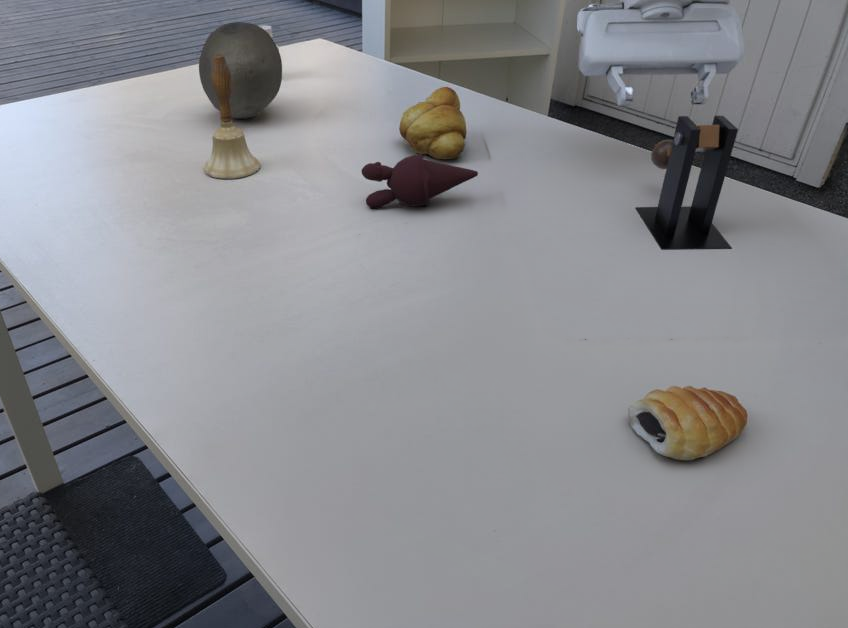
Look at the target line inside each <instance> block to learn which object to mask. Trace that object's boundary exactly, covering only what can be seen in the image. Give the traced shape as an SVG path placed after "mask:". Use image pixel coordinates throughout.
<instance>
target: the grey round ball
mask: <svg viewBox="0 0 848 628" xmlns="http://www.w3.org/2000/svg"><path fill="white" fill-rule="evenodd" d="M259 26H260V25H257V24H255V23H250V22H241V21H233V22H228V23H224V24H222V25H220V26H219V27H217V28H216V29H215V30H214V31H212V32H211V33H210V34H209V35H208V36H207V38H206V39H205V42H204V44H203V46H202V50H201V53H200V55H199V61H198V74H199V80H200V83H201V86H202V90H203V91H204V93H205V95H206V97H207V98H208V100H209V102H210V103H211V104H212V106H213V107H214V108H215V109H216V110H217V111H218V112H220V106H219V101H218V98H217V95H216V93H215V90H214V86H213V81H212V69H213V63H214V56H215V55H216V54H223V55H224V58H225V61H226V63H227V65H228V68H229V70H230V74H231V82H232V90H231V97H230V105H231V112H232V117H233V119H240V120H241V119H242V118H243V119H249V118H253V117H255V116H258V115H259V114H261V113H262V112H263V111H264V110H265V109H266V108H268V107H269V106H270V105H271V103H272V101H274V99H275V98H276V97H277V96H278V93H279V91H280V88H281V85H282V79H283V61H282V57H281V54H280V49H279V50H278V48H277V46H278V45H277V43H276V42H275V41H274V39H273V38H272V37H271V36H270V35H269V34H268V33H267V32H266V31H265V30H264V29H263V28H261V27H259ZM276 45H277V46H276Z"/></svg>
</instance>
